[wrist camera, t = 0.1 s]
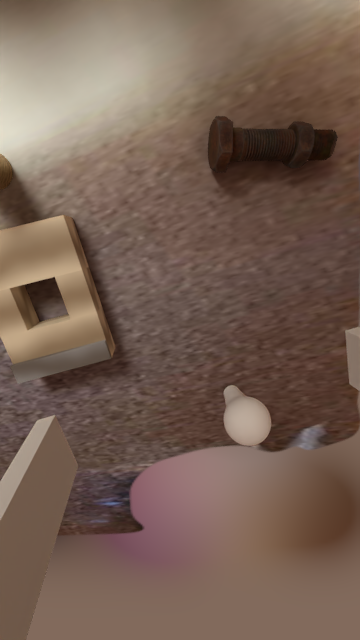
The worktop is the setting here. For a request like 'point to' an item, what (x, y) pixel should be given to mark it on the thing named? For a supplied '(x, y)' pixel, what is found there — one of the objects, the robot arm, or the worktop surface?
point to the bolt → (267, 144)
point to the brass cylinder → (5, 172)
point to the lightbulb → (245, 417)
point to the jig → (77, 292)
